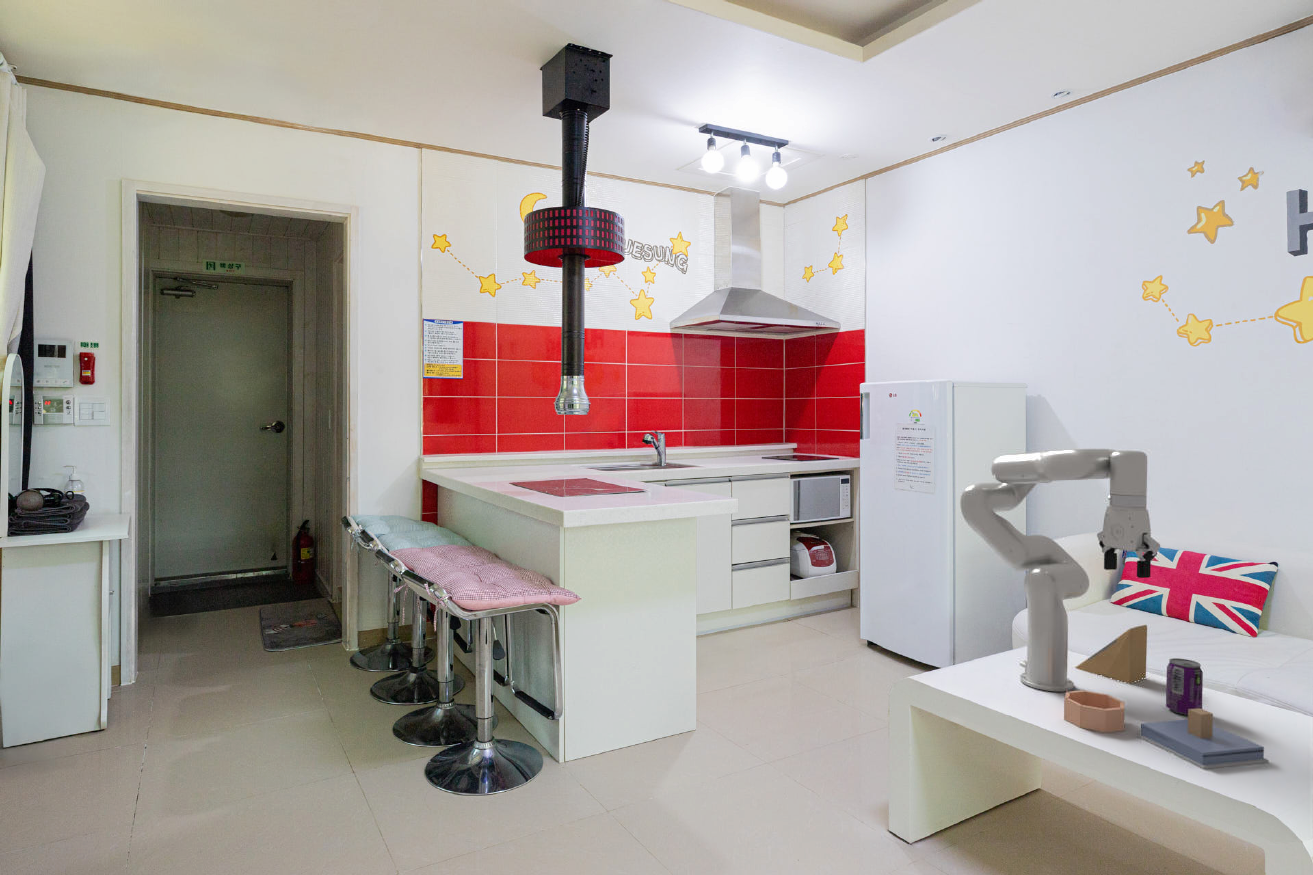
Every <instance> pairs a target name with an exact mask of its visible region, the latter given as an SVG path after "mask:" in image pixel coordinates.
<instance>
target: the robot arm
mask: <svg viewBox="0 0 1313 875" xmlns="http://www.w3.org/2000/svg"><path fill="white" fill-rule="evenodd" d="M990 470H991V475H992V476H993V478H994V479H995V480H996V481H997V482H984V483H983V482H982V483H976V484H972V485H970V486H968V487H966V488H965V489H964V490H963V492H962V493H961V495H960V502H959V504H960V511H961V514H962V516H963V518H964V520H965V522H966V523H967V525H968V526H969V527H970V528H971V529H972V530H973V531H974V532H975V533H976V534H977V535H978V536H980V538H982V539H983V540H984V542H986V544H988V545H989V547H990V548H991V549H992V550H993V551H994V553H996V554H997V555H998V556H999V558H1000V559H1002V561H1003V562H1004V563H1006V565H1007V566H1008V567H1010V568H1011V569H1012V570H1015V571H1017V572H1027V573H1026V575H1025V576H1024V579H1023V586H1024V592H1025V597H1026V607H1027V608H1026V609H1027V623H1026V624H1027V630H1026V631H1027V633H1026V634H1027V635H1026V636H1027V637H1026V640H1027V642H1026V647H1027V648H1026V649H1027V650H1026V655H1027V656H1026V658H1025V659H1024V661H1022V660H1021V661H1020V662H1019V666H1021V667H1022V668H1024V672H1022V674H1020V676H1019V679H1020V681H1021V683H1023V684H1024V685H1026V686H1028V687H1031V688H1034V689H1038V690H1041V691H1048V692H1070V691H1073V689H1074V687H1075V683H1074V682H1073V681H1072V679H1070V678H1068V658H1069V657H1068V653H1069V652H1068V651H1069V650H1068V647H1069V646H1068V645H1069V644H1068V643H1069V618H1068V614H1067V610H1066V608H1065V605H1064V600H1071V599H1076V598H1080V597H1082V596H1084V595H1085V594H1086V593H1087V592H1088V590H1089V588H1090V578H1089V575H1088V573H1087V571H1086V570H1085V569H1084V568H1083V567H1082V565H1081V564H1080V563H1079V562H1078V561H1077V560H1075V559H1074V558H1073V557H1072V555H1070V554H1069V553H1068V552H1067V551H1066V550H1065V549H1064V548H1063V547H1062V546H1061V545H1059V544H1058V543H1057V542H1056V541H1055V540H1053V539H1052V538H1050V537H1049V536H1045V535H1041V534H1038V535H1037V534H1033V535H1027V534H1023V533H1022V532H1021V531H1019V530H1018V529H1017V528H1016V527H1015V526H1014V525H1013V524H1012V523H1011V522H1010V521H1009V520H1007V519H1006V518H1004V517H1002V516H1000V515H999V514H997V513H999V512H1001V513H1002V512H1009V511H1012V510H1014V509H1016V508H1017V507H1018V506H1019V505H1020V504H1021V503H1023V501H1024V500H1025V498H1026V497H1027V496H1028V495H1029V494H1030V493H1031V491H1033V489H1034V488H1035V486H1037V484H1050V483H1052V482H1057V481H1058V482H1059V481H1079V480H1080V481H1082V480H1086V481H1087V480H1105V479H1107V480H1108V479H1109V495H1108V501H1109V506H1106V510H1105V514H1104V518H1103V526H1102V530H1101V531H1100V532H1097V534H1096V537H1097V539H1098V542H1099V543H1098V544H1099V546H1100V547H1101V552H1102V554H1103V569H1104V570H1106V571H1113V570H1117V569H1118V554H1117V552H1116V551H1117V550H1120V551H1125V552H1134V553H1135V554H1136V556H1137V558H1138V559H1139V560H1137V561H1136V577H1137V578H1138V579H1141V578H1142V579H1145V578H1146V579H1147V578H1151V571H1152V570H1151V567H1152V566H1151V565H1152V562H1153V561H1154V558H1155V557H1156V556H1157V555H1158V552H1159V550H1160V548H1161V543H1160V542H1158V541H1156V540H1155V539H1154V538H1153V537H1152V532H1151V531H1152V530H1151V521H1150V520H1151V519H1150V514H1149V509H1147V504H1148V503H1147V500H1148V499H1147V497H1148V494H1147V493H1148V492H1147V491H1148V456H1147V453H1145V452H1143V451H1141V450H1116V449H1109V448H1077V449H1064V450H1054V451H1053V450H1052V451H1049V450H1043V451H1042V450H1040V451H1031V452H1029V451H1028V452H1019V453H1007V454H1003V455H1001V456H999V457H997V458H996V459H994V461H993V462H992V464H991V468H990Z"/></svg>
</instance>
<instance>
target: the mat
mask: <svg viewBox="0 0 1313 875" xmlns="http://www.w3.org/2000/svg"><path fill="white" fill-rule="evenodd" d="M1140 734H1141V733H1137V735H1136V737H1138V738H1140V739H1142V738H1143V739H1142V740H1144V741H1146V740H1147V741H1146V742H1148V743H1150V742H1151V743H1150V744H1152V745H1154V746H1156V745H1157V746H1156V747H1158V748H1160V749H1162V750H1164V749H1165V750H1164V751H1166V752H1168V751H1169V752H1168V753H1170V754H1172V753H1173V754H1172V755H1174V756H1176V755H1177V756H1176V757H1178V758H1180V759H1182V760H1183V761H1186V762H1188V763H1190V764H1191V765H1194V766H1197V767H1199V768H1200V769H1201V770H1202V769H1203V770H1207V769H1208V770H1209V769H1218V768H1229V767H1238V766H1248V765H1255V764H1266V763H1270V762H1269V759H1268V758H1265V757H1264V759H1258V760H1248V761H1239V762H1229V763H1219V764H1209V765H1201V764H1199V763H1197V762H1195V761H1193V760H1191V759H1189V758H1187V757H1185V756H1183V755H1181V754H1179V753H1177V752H1175V751H1173V750H1171V749H1169V748H1167V747H1165V746H1163V745H1161V744H1159V743H1156V742H1154V741H1152V740H1150V739H1148V738H1146V737H1144V736H1142V735H1140Z"/></svg>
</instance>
